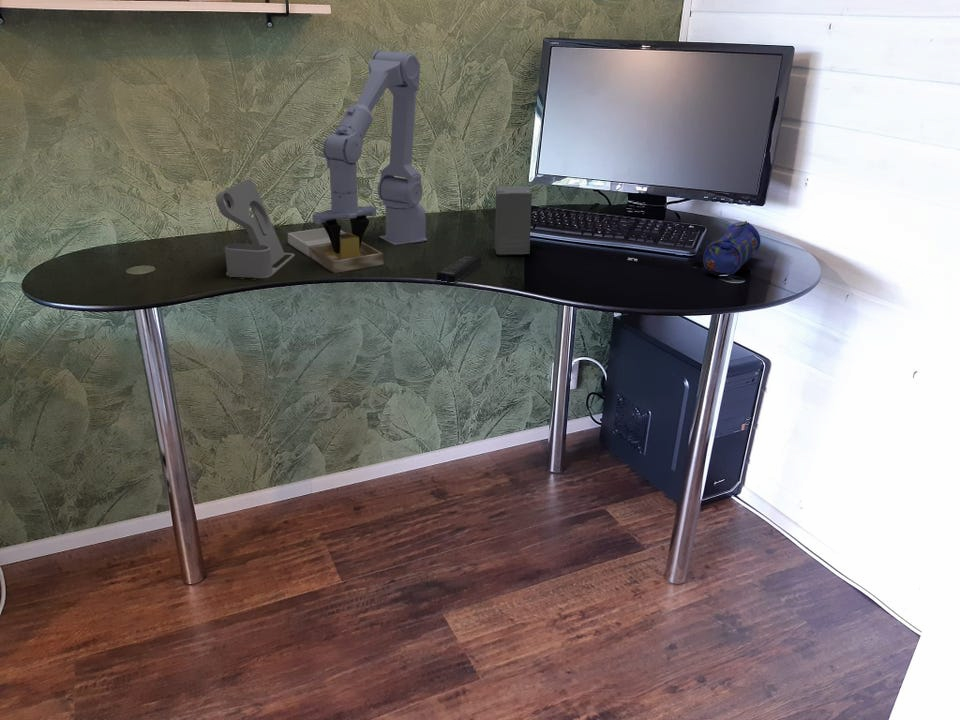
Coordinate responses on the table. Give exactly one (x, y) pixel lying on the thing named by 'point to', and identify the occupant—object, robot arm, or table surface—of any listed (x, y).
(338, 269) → the birch box
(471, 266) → the multiport hub
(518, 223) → the skincare box
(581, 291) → the table surface
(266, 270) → the phone holder
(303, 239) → the white tub
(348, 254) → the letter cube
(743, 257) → the pencil case
